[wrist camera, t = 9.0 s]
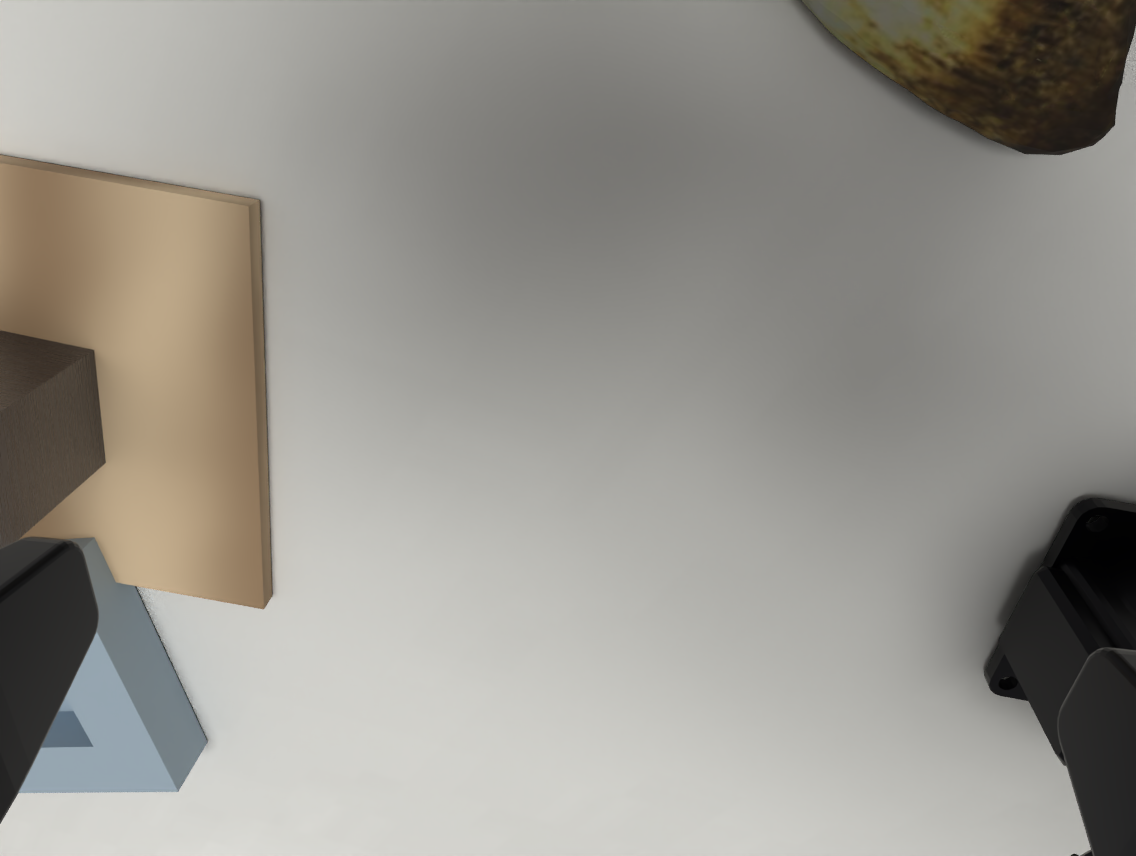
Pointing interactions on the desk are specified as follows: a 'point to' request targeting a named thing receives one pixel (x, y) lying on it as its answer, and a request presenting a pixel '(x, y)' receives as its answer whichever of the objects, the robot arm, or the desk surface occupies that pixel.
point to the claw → (999, 61)
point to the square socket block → (119, 706)
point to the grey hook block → (45, 428)
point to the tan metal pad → (153, 367)
